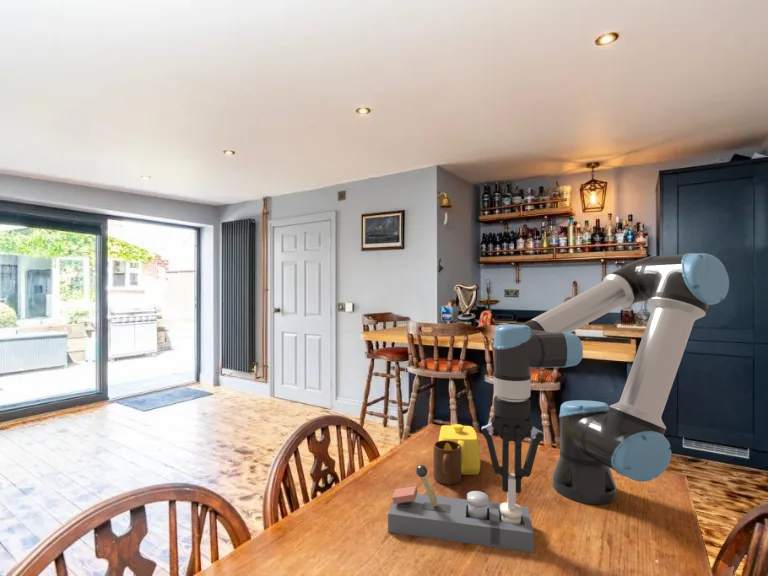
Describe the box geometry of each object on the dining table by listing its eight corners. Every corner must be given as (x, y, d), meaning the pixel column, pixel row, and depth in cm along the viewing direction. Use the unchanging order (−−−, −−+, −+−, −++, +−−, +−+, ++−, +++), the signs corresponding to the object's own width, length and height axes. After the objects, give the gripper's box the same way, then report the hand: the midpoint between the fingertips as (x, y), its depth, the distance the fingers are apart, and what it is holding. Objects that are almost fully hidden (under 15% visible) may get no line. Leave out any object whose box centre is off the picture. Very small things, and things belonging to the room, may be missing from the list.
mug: (460, 495, 105) (460, 458, 105) (430, 492, 107) (430, 456, 107) (461, 474, 117) (461, 441, 117) (434, 471, 119) (434, 438, 119)
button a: (521, 524, 90) (521, 503, 90) (523, 536, 86) (523, 515, 86) (499, 521, 91) (499, 500, 91) (500, 533, 87) (500, 512, 87)
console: (527, 524, 93) (528, 503, 93) (533, 552, 83) (533, 529, 83) (397, 507, 99) (397, 488, 99) (388, 532, 90) (388, 510, 90)
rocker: (417, 491, 95) (416, 486, 95) (415, 500, 91) (413, 494, 91) (397, 495, 96) (395, 489, 96) (393, 503, 92) (392, 497, 93)
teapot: (435, 449, 134) (435, 413, 134) (474, 450, 134) (474, 414, 133) (439, 478, 114) (439, 436, 114) (484, 480, 114) (484, 437, 113)
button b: (488, 512, 92) (488, 492, 92) (488, 524, 87) (488, 502, 87) (467, 510, 93) (467, 489, 93) (466, 521, 89) (466, 500, 88)
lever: (441, 499, 93) (425, 461, 94) (440, 505, 91) (423, 466, 92) (430, 503, 94) (415, 464, 95) (429, 509, 91) (413, 469, 92)
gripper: (541, 394, 91) (541, 501, 91) (480, 390, 94) (480, 494, 94) (546, 404, 83) (546, 520, 83) (480, 399, 86) (480, 511, 86)
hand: (511, 506), depth 89 cm, fingers closed
